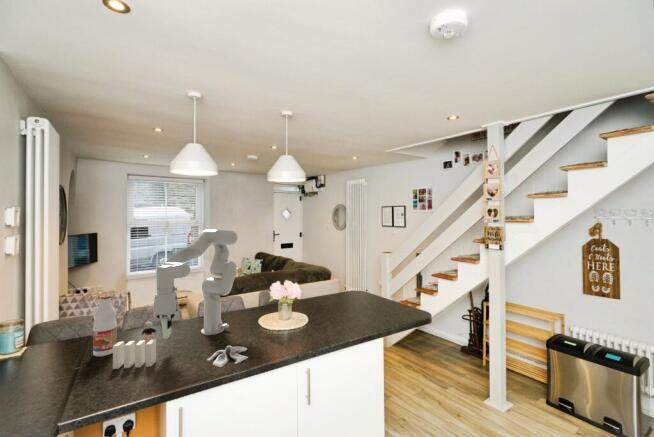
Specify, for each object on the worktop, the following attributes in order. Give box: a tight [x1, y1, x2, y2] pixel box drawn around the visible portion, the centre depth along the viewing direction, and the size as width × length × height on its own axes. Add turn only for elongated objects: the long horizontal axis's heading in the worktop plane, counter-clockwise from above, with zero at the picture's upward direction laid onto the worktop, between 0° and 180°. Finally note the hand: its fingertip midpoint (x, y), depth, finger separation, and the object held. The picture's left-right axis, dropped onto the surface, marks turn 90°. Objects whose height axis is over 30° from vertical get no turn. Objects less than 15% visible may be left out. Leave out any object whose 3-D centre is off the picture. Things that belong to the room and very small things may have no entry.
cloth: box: [206, 345, 249, 368], centre depth 143 cm, size 22×19×6 cm
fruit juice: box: [92, 294, 118, 357], centre depth 148 cm, size 9×9×28 cm
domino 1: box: [112, 340, 125, 370], centre depth 134 cm, size 2×5×10 cm, turn 9°
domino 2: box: [123, 340, 136, 369], centre depth 135 cm, size 2×5×10 cm, turn 9°
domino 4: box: [145, 339, 157, 368], centre depth 136 cm, size 2×5×10 cm, turn 9°
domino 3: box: [134, 339, 146, 368], centre depth 136 cm, size 2×5×10 cm, turn 9°
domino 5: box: [160, 314, 172, 339], centre depth 147 cm, size 2×5×10 cm, turn 9°
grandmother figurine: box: [140, 321, 158, 344], centre depth 156 cm, size 8×4×13 cm, turn 117°
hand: (166, 327), depth 147 cm, fingers closed on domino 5
